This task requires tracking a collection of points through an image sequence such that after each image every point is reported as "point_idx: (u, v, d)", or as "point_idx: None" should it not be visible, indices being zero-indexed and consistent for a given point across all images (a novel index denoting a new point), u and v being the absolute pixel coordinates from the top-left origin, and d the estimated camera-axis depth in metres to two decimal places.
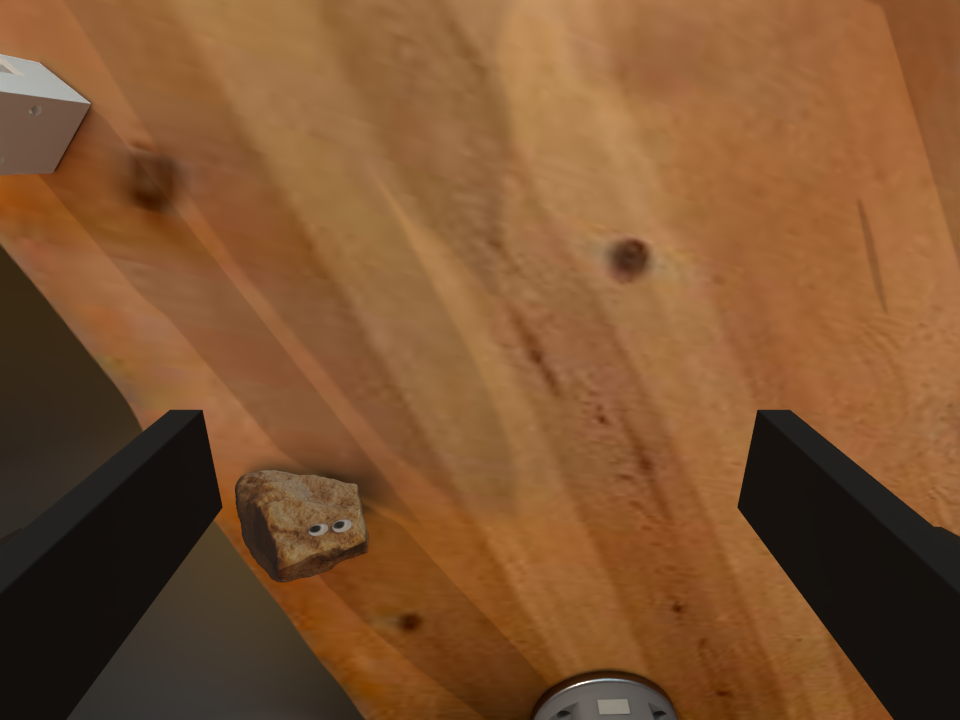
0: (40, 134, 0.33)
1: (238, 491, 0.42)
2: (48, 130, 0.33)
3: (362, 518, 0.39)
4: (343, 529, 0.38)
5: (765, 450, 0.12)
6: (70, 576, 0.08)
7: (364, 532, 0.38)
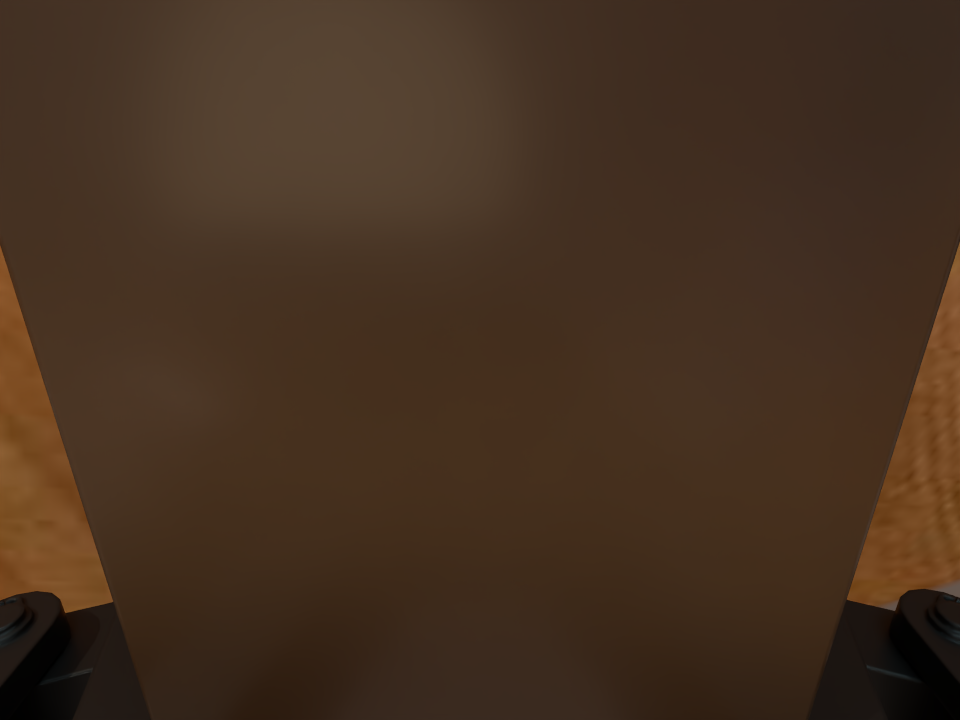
0: None
1: None
2: None
3: None
4: None
5: None
6: None
7: None
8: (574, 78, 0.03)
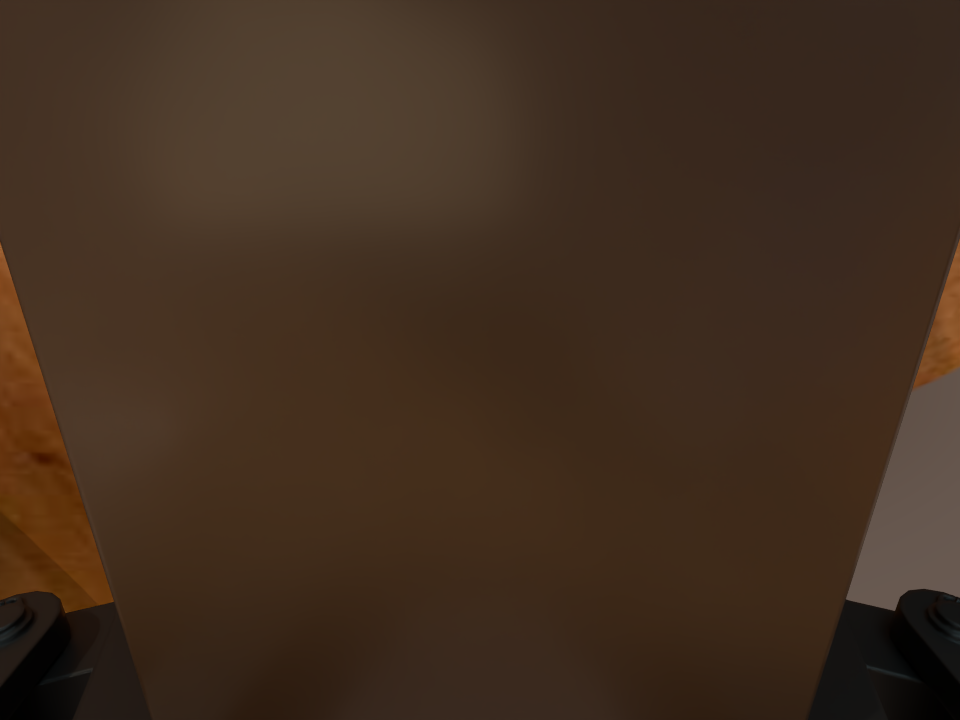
0: None
1: None
2: None
3: None
4: None
5: None
6: None
7: None
8: (576, 76, 0.03)
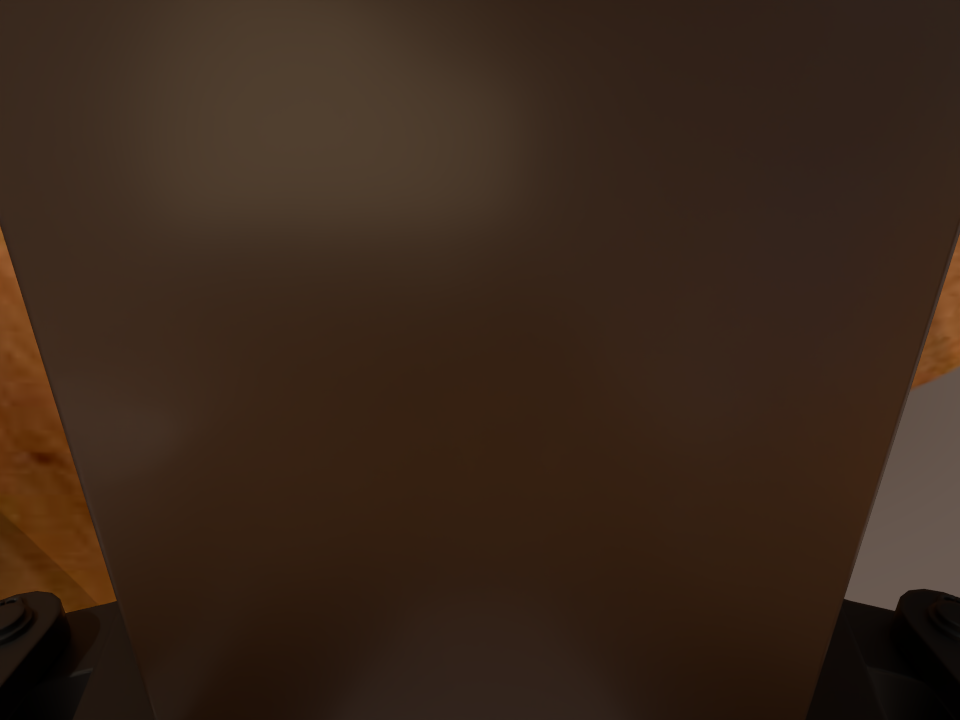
0: None
1: None
2: None
3: None
4: None
5: None
6: None
7: None
8: (575, 77, 0.03)
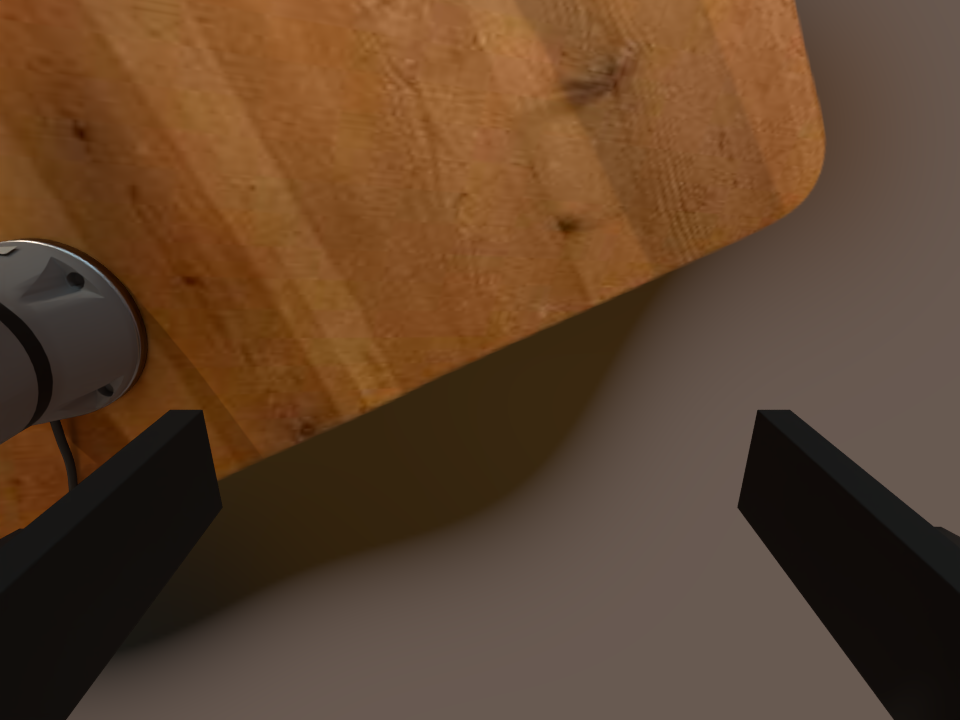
0: None
1: None
2: None
3: None
4: None
5: (765, 450, 0.12)
6: (70, 576, 0.08)
7: None
8: None
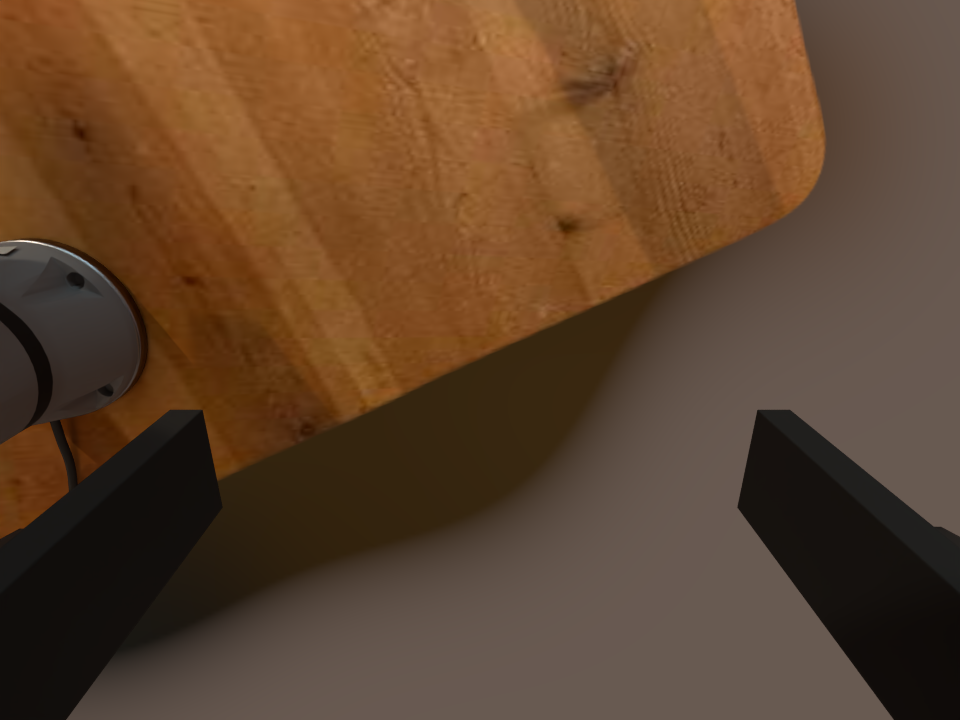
0: None
1: None
2: None
3: None
4: None
5: (765, 450, 0.12)
6: (70, 576, 0.08)
7: None
8: None
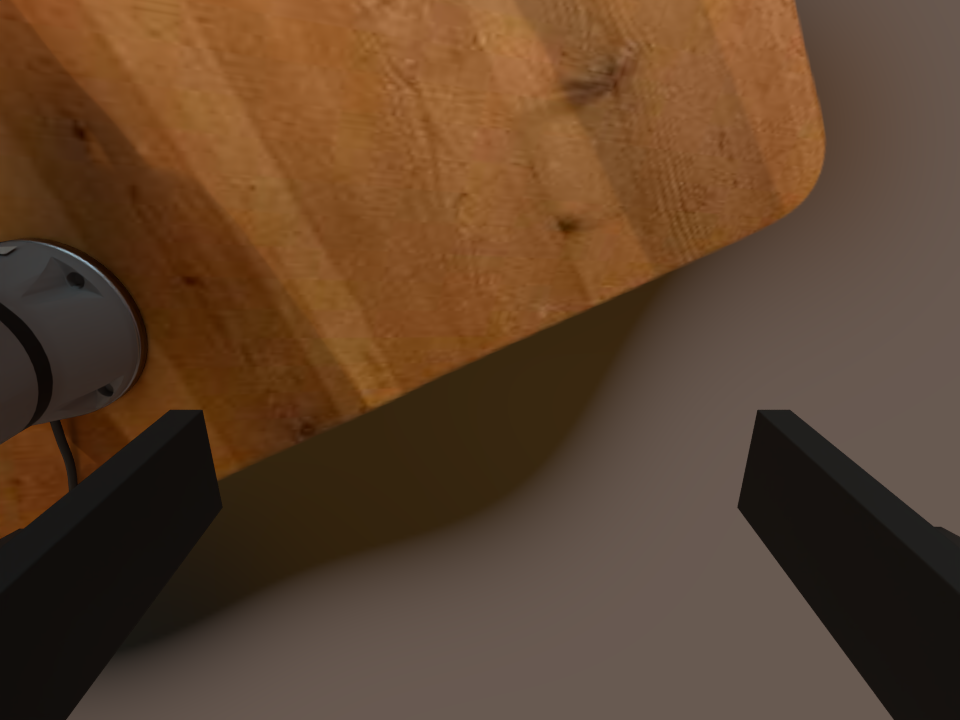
0: None
1: None
2: None
3: None
4: None
5: (765, 450, 0.12)
6: (70, 576, 0.08)
7: None
8: None
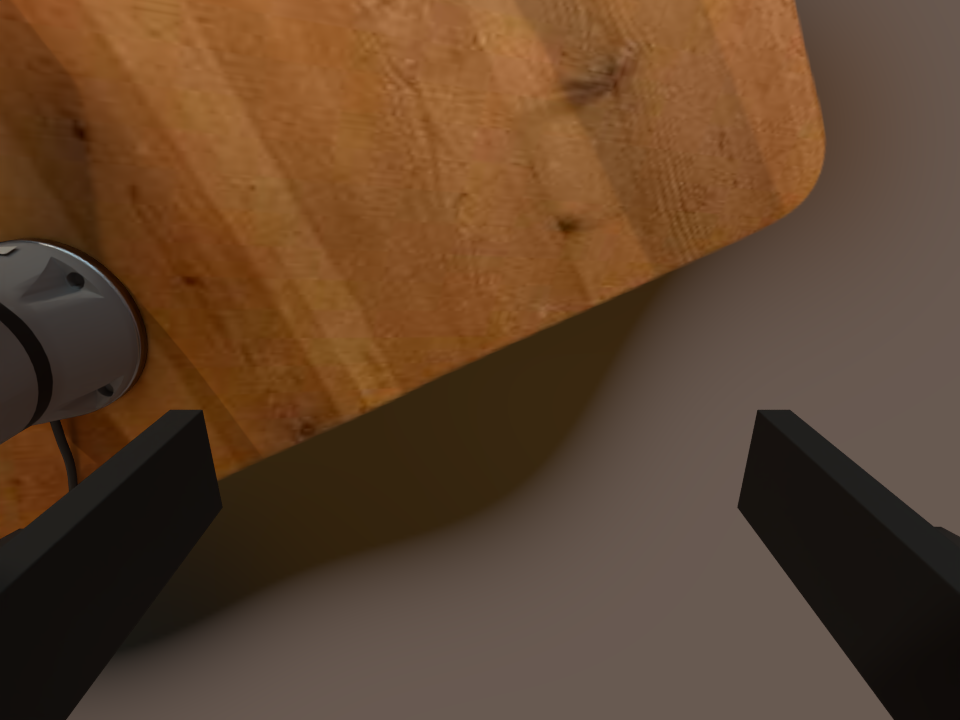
0: None
1: None
2: None
3: None
4: None
5: (765, 450, 0.12)
6: (70, 576, 0.08)
7: None
8: None
